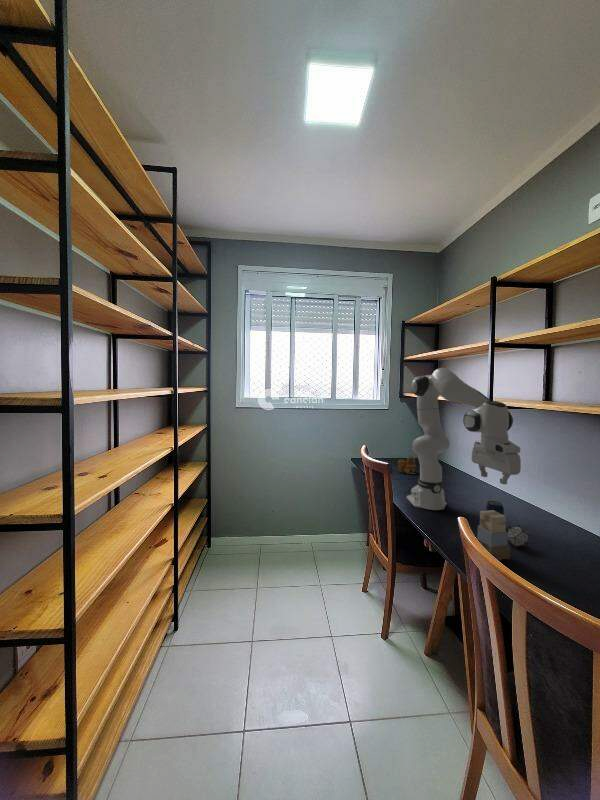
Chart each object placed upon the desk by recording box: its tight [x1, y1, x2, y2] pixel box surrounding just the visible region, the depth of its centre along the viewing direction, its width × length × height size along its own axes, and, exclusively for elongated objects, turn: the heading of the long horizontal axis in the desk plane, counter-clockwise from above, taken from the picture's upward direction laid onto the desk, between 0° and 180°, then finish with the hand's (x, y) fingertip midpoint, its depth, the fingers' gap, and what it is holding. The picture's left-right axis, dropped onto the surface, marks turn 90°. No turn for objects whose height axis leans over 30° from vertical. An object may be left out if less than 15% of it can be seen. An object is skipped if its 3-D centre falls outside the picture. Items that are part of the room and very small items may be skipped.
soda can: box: [485, 500, 505, 516], centre depth 142 cm, size 7×7×12 cm
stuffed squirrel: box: [397, 455, 417, 474], centre depth 235 cm, size 10×14×13 cm
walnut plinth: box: [476, 537, 511, 561], centre depth 120 cm, size 8×8×5 cm
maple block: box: [479, 510, 507, 533], centre depth 120 cm, size 6×6×6 cm
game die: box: [506, 524, 532, 549], centre depth 127 cm, size 9×8×10 cm
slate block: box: [477, 525, 509, 547], centre depth 120 cm, size 7×7×5 cm
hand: (493, 480), depth 119 cm, fingers open, 8 cm apart
